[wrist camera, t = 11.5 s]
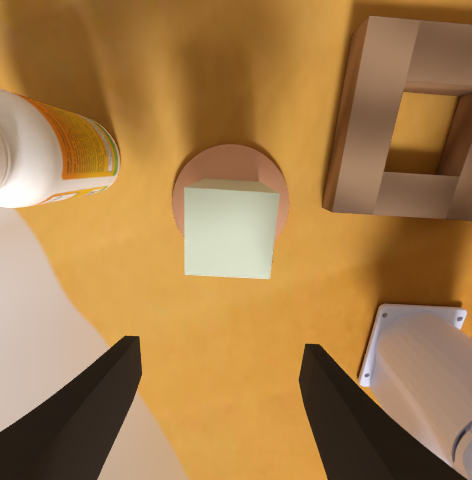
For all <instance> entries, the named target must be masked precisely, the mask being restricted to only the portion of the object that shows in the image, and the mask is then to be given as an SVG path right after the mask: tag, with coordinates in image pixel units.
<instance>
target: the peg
mask: <svg viewBox="0 0 472 480" xmlns="http://www.w3.org/2000/svg"><path fill="white" fill-rule="evenodd" d="M279 196H280V193H279V192H277V191H275V190H273V189H272V188H270V187H268V186H266V185H265V184H263V183H261V182H259V181H243V180H227V179H211V178H205V179H203V180H200V181H198V182H196V183H193V184H191V185H189V186H186V187H184V231H185V275H200V276H219V277H239V278H259V279H270V274H271V265H272V256H273V248H274V239H275V231H276V222H277V213H278V205H279Z"/></svg>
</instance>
